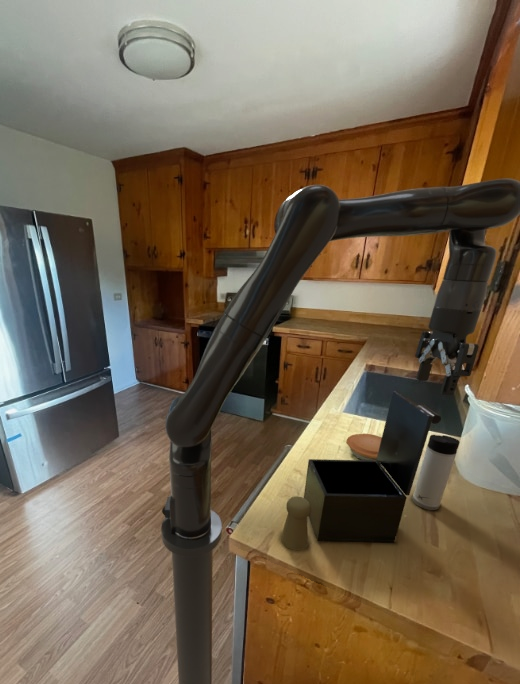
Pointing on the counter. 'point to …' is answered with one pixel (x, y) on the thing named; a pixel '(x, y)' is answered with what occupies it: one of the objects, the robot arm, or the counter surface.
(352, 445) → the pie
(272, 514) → the counter surface
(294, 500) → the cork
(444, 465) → the travel mug
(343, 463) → the black open box
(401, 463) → the lid
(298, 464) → the counter surface
